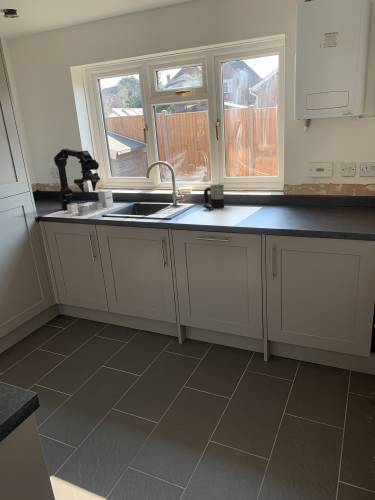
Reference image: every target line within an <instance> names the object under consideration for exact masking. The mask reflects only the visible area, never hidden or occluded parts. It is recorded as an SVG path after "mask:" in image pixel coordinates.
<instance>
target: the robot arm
mask: <svg viewBox="0 0 375 500" xmlns="http://www.w3.org/2000/svg"><path fill="white" fill-rule="evenodd" d="M69 157H75V158H77V160H79V161H78V164H80V168H81V171H80V173H81V175H82V177H81V178H76V179H74V180H73V183H74V185H77V187H78V188H79V190H80V191H81V193H82V194H85V187H84V185H85V182H90V183H91V188H92V191H93V192H95V191H96V187H97V183H99V181H101V177H100V175H99V173H98V172H95V173H93V172H92V171H96V170H99V167H100V166H99V165H100V164H99V162H98V161H97V160H96V159H94V158H93V157H92V155H91V153H90V151H89V150H74V149H69V148H63V149H61V150H60V151H59V152H58V153H57V154H56V155H55V156H54V158H53V161H54V165H55V166H56V167H57V171H58V175H59V182H60V190H59V197H58V198H57V201H58V203H60V206H61V209H60V211H68V209H67V205H68V204H71V201H72V199H73V190H72V189H71V188H69V183H68V176H67V171H66V169H67V168H66V166H67V164H68V162H67V160H68V159H69Z"/></svg>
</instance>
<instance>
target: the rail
mask: <svg viewBox="0 0 375 500" xmlns="http://www.w3.org/2000/svg"><path fill="white" fill-rule="evenodd" d="M91 204H92V205H93V209H89V205H84V206H80V207H78V212H76V216H81V217H82V216H86V215H90V214H93V213H96V212H101V211H103V210H106V209H105V207H103V204H102V202H99V201H94V202H93V203H91Z"/></svg>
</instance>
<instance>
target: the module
mask: <svg viewBox="0 0 375 500" xmlns="http://www.w3.org/2000/svg"><path fill="white" fill-rule="evenodd" d="M77 205H78V203H76V202H75V203H73V202H72V203H71V202H70V204H68V205H67V209H68V210H67V213H68V214H75V213H78V206H77Z"/></svg>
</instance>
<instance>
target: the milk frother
mask: <svg viewBox="0 0 375 500" xmlns="http://www.w3.org/2000/svg"><path fill="white" fill-rule="evenodd" d="M224 186H225V185H224V184H212V185H209V187H205V189H204V191H203V198H204V203H205V204H203V205H202V207H203V208H204V209H206V210H208V211H213V210H214V209H224V208H225V201H224V200H225V198H224V196H225V195H224V194H225V193H224V191H225V190H224ZM208 192H209V193H210V194H209V193H208ZM208 194H209V195H210V197H209V195H208ZM209 198H210V205H209Z"/></svg>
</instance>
